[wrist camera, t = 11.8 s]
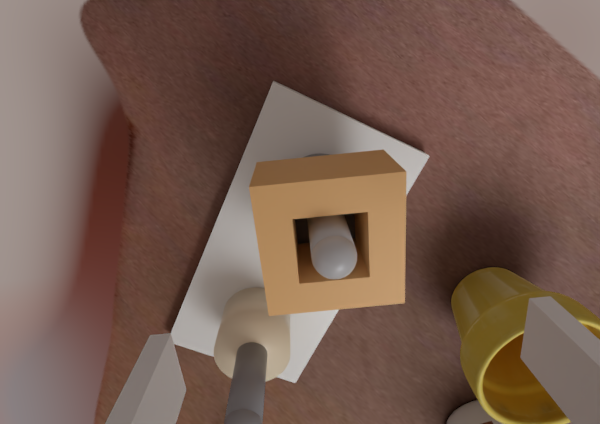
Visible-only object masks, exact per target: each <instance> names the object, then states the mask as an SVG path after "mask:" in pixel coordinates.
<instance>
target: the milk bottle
mask: <svg viewBox="0 0 600 424" xmlns="http://www.w3.org/2000/svg"><path fill="white" fill-rule="evenodd" d="M446 424H503V423H500V422H498V421H497V420H495V419H494V418H492V417H491V416H490V415H489V414H487V412H486V411H485V410H484V409H483V408H482V406H481V405H480V403H479V401H478V400H476V401H472V402H469V403H466V404H464V405H462V406H461V407H459V408H458V409H456V410H455V411H454V412H453V413H452V414H451V415H450V417H449V419H448V420H447V423H446Z"/></svg>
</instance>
